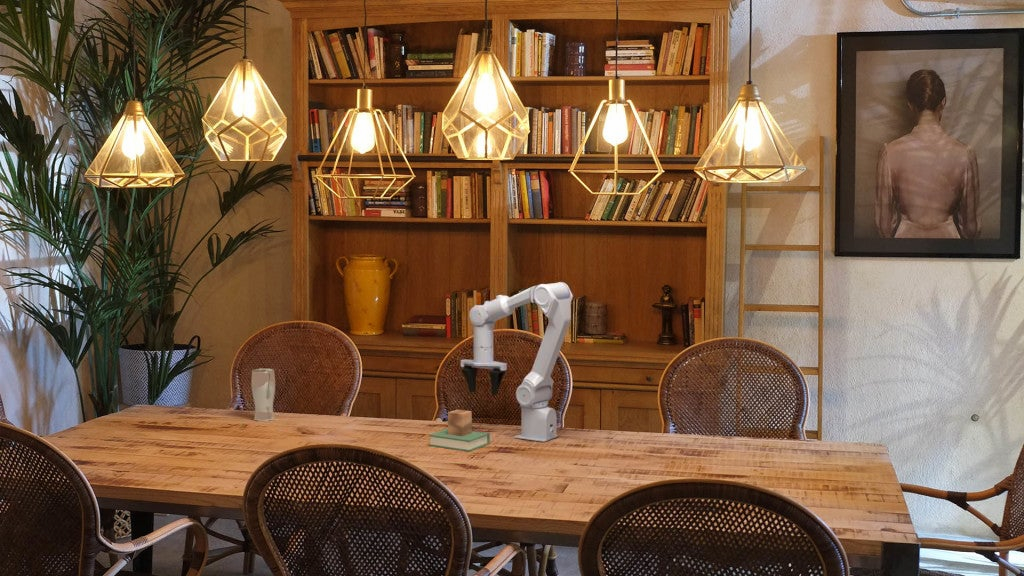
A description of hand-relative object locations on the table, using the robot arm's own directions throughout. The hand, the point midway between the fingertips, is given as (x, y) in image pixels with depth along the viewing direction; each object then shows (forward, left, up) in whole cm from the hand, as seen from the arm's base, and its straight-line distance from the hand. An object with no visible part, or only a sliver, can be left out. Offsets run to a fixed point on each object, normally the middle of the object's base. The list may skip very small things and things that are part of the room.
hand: (483, 393), depth 303 cm
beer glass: (+64, +23, -11) cm, 69 cm away
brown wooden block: (-5, +20, -7) cm, 22 cm away
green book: (-5, +20, -10) cm, 23 cm away
